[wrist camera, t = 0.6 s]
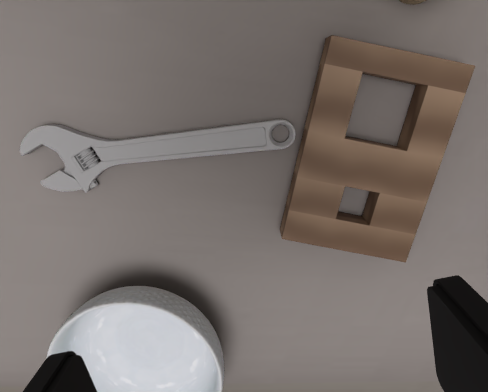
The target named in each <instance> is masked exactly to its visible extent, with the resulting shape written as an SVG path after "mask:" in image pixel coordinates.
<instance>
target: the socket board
mask: <svg viewBox="0 0 488 392" xmlns="http://www.w3.org/2000/svg"><path fill="white" fill-rule="evenodd" d="M474 68H475V66H474V65H469V64H465V63H460V62H455V61H451V60H446V59H441V58H436V57H432V56H427V55H422V54H418V53H413V52H408V51H403V50H399V49H394V48H389V47H385V46H380V45H375V44H371V43H366V42H361V41H356V40H352V39H347V38H342V37H338V36H333V35H331V36H329V37H327V38H326V40H325V44H324V49H323V53H322V57H321V61H320V65H319V69H318V73H317V78H316V82H315V86H314V90H313V94H312V98H311V102H310V107H309V111H308V115H307V119H306V123H305V127H304V131H303V136H302V140H301V144H300V148H299V152H298V156H297V160H296V165H295V169H294V173H293V177H292V181H291V185H290V189H289V194H288V198H287V202H286V206H285V210H284V214H283V218H282V223H281V227H280V231H281V237H282V239H285V240H291V241H296V242H301V243H306V244H312V245H317V246H322V247H328V248H333V249H338V250H343V251H349V252H354V253H359V254H364V255H370V256H375V257H380V258H386V259H391V260H396V261H401V262H406V260H407V257H408V254H409V251H410V249H411V246H412V243H413V240H414V237H415V235H416V232H417V229H418V226H419V223H420V220H421V218H422V215H423V212H424V209H425V206H426V203H427V201H428V198H429V195H430V192H431V189H432V187H433V184H434V181H435V178H436V175H437V172H438V170H439V167H440V164H441V161H442V158H443V155H444V153H445V150H446V147H447V144H448V141H449V138H450V136H451V133H452V130H453V127H454V124H455V122H456V119H457V116H458V113H459V110H460V107H461V105H462V102H463V99H464V96H465V93H466V90H467V88H468V85H469V82H470V79H471V76H472V74H473V71H474ZM362 74H367V75H371V76H376V77H381V78H386V79H390V80H395V81H400V82H405V83H410V84H414V85H416V87H415V90H414V93H413V96H412V99H411V103H410V106H409V109H408V112H407V115H406V118H405V122H404V125H403V128H402V131H401V134H400V137H399V141H398V144H397V146H393V145H388V144H383V143H378V142H373V141H368V140H363V139H358V138H353V137H348V136H345V135H346V131H347V127H348V124H349V120H350V116H351V113H352V109H353V105H354V102H355V98H356V95H357V91H358V87H359V84H360V80H361V76H362ZM345 186H347V187H352V188H357V189H362V190H367V191H370V192H369V195H368V199H367V202H366V205H365V208H364V212H363V215H362V216H358V215H353V214H347V213H342V212H338V210H339V206H340V202H341V199H342V195H343V192H344V188H345Z"/></svg>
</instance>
